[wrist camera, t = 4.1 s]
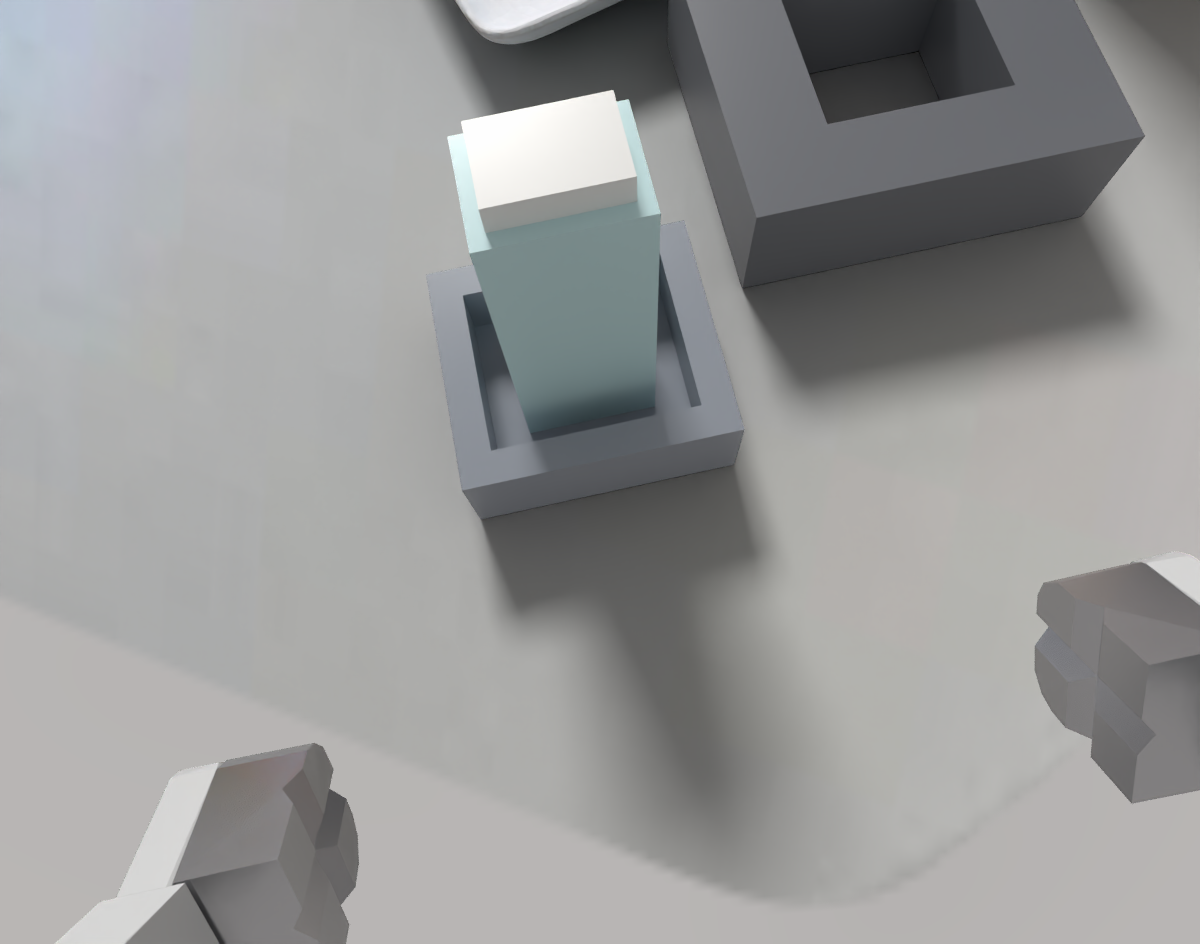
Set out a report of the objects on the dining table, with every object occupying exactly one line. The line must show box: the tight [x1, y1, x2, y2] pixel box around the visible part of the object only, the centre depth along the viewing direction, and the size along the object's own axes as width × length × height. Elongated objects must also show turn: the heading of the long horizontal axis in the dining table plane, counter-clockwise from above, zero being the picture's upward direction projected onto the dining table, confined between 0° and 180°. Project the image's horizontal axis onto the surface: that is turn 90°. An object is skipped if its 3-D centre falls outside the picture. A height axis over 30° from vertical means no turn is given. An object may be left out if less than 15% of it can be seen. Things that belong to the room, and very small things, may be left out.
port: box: [667, 0, 1145, 288], centre depth 29 cm, size 12×11×5 cm
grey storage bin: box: [426, 220, 744, 519], centre depth 27 cm, size 8×7×3 cm
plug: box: [448, 90, 661, 433], centre depth 23 cm, size 4×3×11 cm
